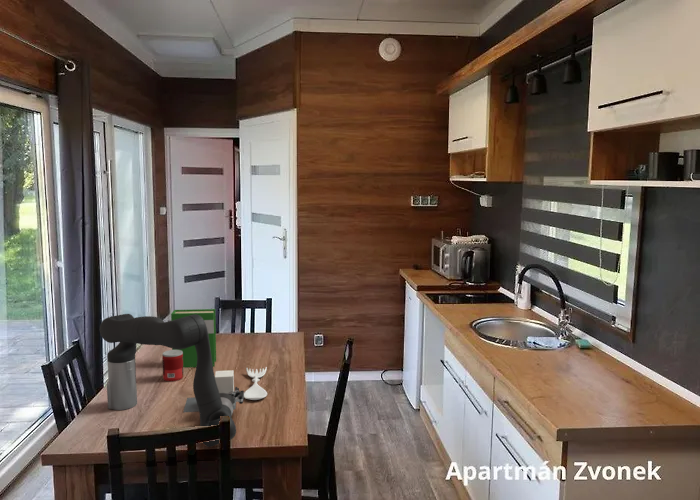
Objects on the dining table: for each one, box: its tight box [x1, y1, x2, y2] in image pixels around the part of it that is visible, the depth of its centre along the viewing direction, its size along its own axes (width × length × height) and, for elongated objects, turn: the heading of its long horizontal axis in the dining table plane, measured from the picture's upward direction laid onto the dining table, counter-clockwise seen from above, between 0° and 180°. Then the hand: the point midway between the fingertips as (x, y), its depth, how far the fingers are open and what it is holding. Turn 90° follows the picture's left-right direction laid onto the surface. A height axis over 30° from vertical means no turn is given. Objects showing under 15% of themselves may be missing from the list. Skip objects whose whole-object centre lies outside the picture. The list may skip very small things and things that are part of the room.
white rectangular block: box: [214, 369, 235, 406], centre depth 199 cm, size 6×6×11 cm
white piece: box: [244, 366, 268, 401], centre depth 216 cm, size 9×32×4 cm, turn 9°
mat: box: [182, 396, 237, 414], centre depth 199 cm, size 18×13×3 cm
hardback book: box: [170, 308, 217, 369], centre depth 239 cm, size 18×7×24 cm, turn 98°
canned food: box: [161, 349, 184, 382], centre depth 223 cm, size 8×8×11 cm
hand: (224, 389), depth 196 cm, fingers open, 8 cm apart
